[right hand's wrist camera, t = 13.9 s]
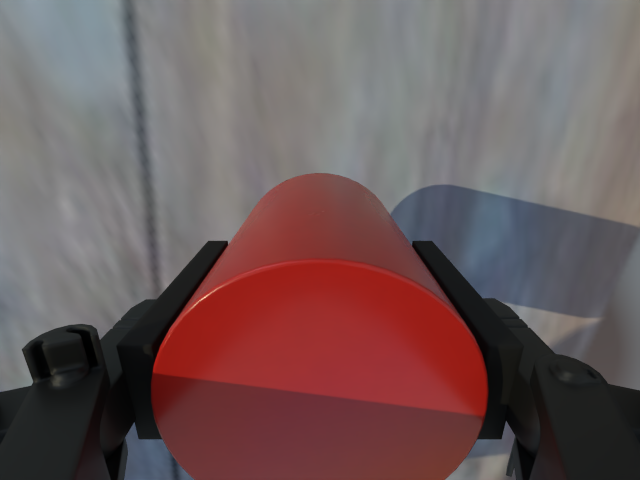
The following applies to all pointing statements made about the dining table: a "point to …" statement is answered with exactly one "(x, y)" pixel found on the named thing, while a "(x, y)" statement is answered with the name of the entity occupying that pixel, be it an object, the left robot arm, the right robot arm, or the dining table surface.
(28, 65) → the dining table surface
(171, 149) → the dining table surface
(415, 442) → the tin
